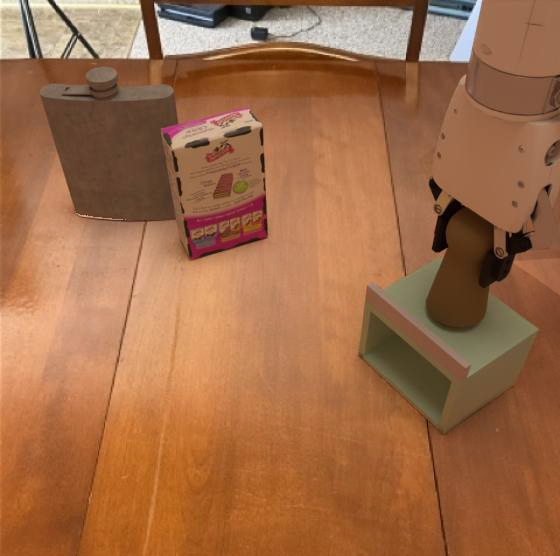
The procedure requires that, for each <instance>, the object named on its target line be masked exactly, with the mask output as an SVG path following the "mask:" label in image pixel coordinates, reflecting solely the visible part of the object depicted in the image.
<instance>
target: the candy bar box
mask: <svg viewBox="0 0 560 556" xmlns="http://www.w3.org/2000/svg"><path fill="white" fill-rule="evenodd" d="M161 136H162V142H163V147H164V152H165V158H166V164H167V170H168V176H169V181H170V187H171V193H172V199H173V204H174V210H175V215H176V219H175V220H176V221H175V222H176V225H177V232H178V237H179V240H180V242H181V244H182V246H183V248H184V249H185V251H186V254H187V255H188V257H189V259H190V260H196V259H199V258H202V257H206V256H209V255H212V254H215V253H219V252H222V251H225V250H228V249H232V248H235V247H238V246H242V245H244V244H248V243H251V242H254V241H257V240H260V239H264V238H268V237H269V228H268V226H269V225H268V205H267V204H268V202H267V187H266V185H267V184H266V161H265V144H264V142H265V140H264V125H263V124H262V122H261V121H260V120H259V119H258V118H257V117H256V116H255V114H254V113H253V112H252V109H250V107H249V106H244V107H239V108H236V109H232V110H228V111H225V112H221V113H218V114H212V115H208V116H205V117H201V118H197V119H194V120H190V121H186V122H182V123H178V125H174V126H170V127H166V128H162V129H161Z"/></svg>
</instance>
